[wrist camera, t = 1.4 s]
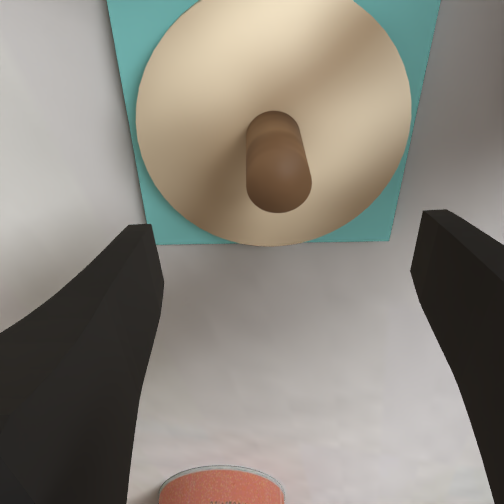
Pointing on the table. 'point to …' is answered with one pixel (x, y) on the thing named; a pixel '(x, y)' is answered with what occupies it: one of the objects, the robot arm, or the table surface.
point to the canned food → (221, 487)
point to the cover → (273, 117)
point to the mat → (152, 31)
